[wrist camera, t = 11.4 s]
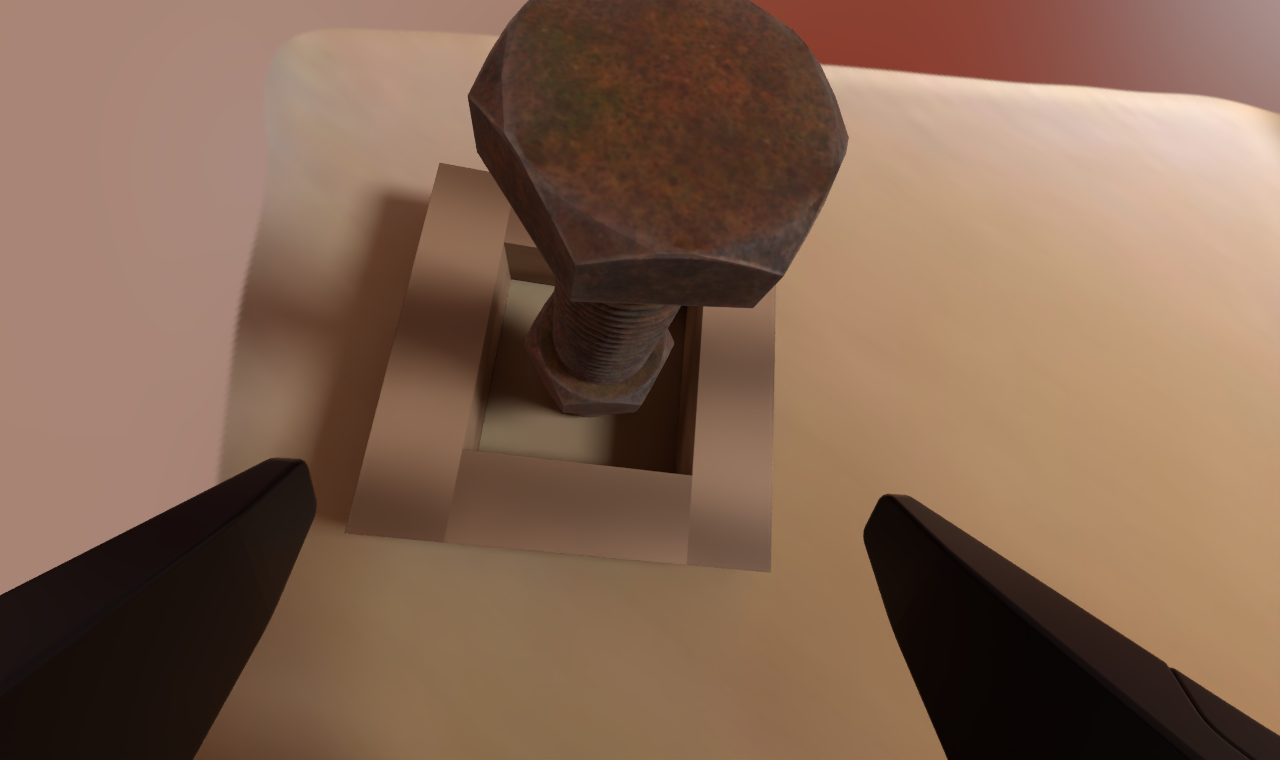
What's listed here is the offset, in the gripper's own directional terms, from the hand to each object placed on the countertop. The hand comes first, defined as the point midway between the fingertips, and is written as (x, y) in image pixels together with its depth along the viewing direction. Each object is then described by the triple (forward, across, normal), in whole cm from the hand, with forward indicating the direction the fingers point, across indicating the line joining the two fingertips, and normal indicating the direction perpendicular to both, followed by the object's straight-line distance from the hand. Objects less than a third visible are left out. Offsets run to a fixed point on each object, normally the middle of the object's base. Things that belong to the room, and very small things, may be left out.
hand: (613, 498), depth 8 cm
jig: (+13, 0, +5) cm, 14 cm away
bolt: (+13, 0, +5) cm, 14 cm away
